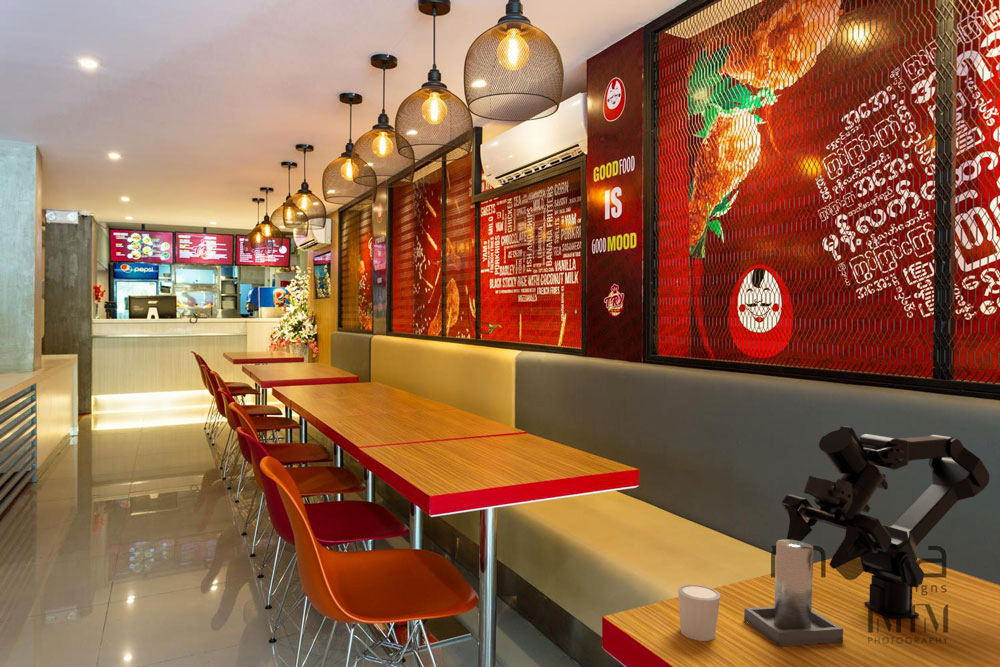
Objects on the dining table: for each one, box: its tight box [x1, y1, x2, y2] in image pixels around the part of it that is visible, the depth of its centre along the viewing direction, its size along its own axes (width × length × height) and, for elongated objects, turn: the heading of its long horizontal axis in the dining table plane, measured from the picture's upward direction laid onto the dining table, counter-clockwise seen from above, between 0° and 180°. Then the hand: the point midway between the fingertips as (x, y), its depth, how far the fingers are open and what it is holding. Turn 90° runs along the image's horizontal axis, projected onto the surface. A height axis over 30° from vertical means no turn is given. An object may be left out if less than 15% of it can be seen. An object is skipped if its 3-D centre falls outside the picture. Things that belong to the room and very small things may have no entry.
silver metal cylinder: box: [773, 538, 814, 630], centre depth 111 cm, size 6×6×14 cm
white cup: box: [677, 584, 721, 642], centre depth 108 cm, size 7×7×7 cm
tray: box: [743, 605, 844, 647], centre depth 111 cm, size 12×10×2 cm
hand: (808, 558), depth 112 cm, fingers open, 9 cm apart
